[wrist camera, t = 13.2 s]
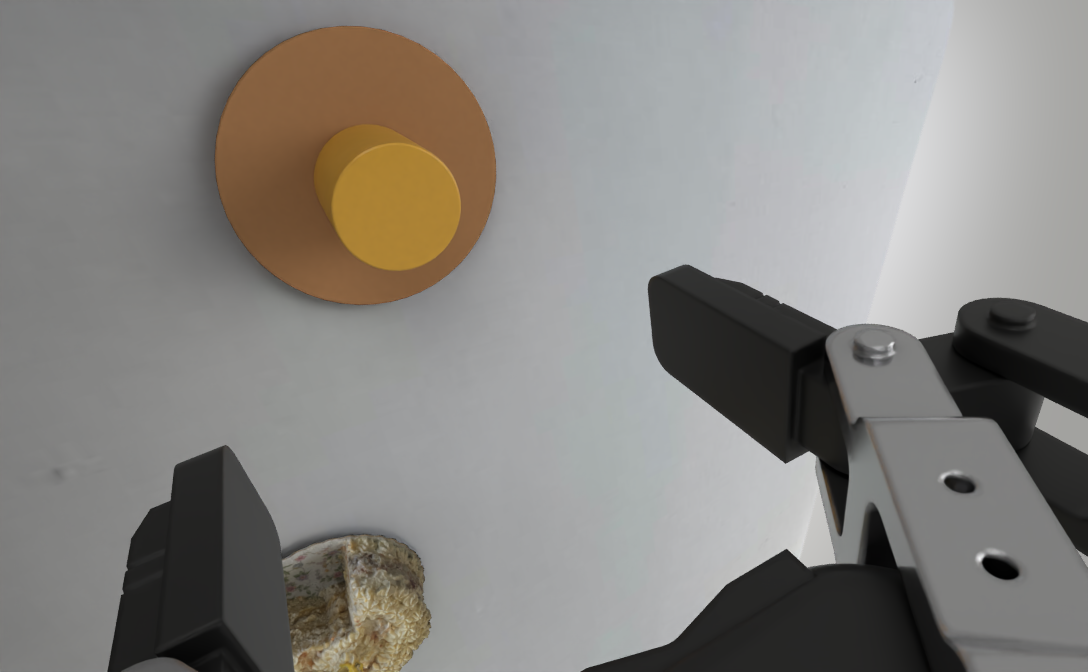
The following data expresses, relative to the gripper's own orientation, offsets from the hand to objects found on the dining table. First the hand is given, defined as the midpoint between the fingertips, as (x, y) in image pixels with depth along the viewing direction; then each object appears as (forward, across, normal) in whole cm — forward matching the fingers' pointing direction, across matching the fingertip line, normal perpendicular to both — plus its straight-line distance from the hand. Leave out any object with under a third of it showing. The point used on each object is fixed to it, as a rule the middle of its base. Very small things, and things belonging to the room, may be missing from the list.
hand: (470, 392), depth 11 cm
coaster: (+17, -2, 0) cm, 17 cm away
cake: (+17, +8, +21) cm, 28 cm away
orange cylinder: (+16, -2, 0) cm, 16 cm away
